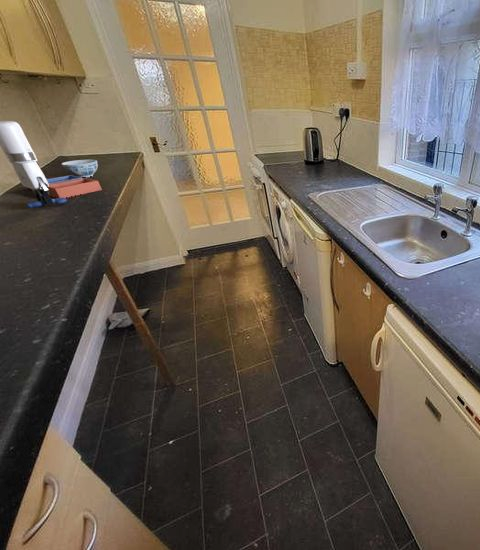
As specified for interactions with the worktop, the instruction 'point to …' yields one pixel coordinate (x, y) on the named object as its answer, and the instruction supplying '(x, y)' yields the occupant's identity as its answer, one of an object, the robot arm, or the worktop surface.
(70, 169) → the chinaware
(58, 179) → the blue bin
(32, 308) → the worktop surface
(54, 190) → the red bin
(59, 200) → the blue spoon
